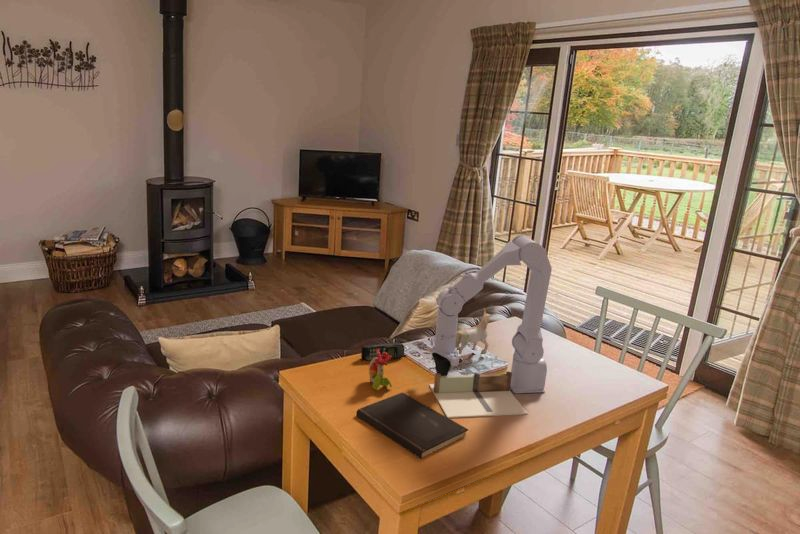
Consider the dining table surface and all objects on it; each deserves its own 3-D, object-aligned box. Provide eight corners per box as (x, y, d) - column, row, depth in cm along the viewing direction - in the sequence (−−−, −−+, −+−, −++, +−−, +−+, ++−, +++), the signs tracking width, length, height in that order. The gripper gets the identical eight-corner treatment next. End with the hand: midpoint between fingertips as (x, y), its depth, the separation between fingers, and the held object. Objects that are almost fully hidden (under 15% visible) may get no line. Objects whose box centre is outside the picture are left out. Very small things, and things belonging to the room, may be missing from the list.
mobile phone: (363, 347, 175) (409, 343, 180) (360, 343, 178) (406, 339, 183) (362, 362, 177) (409, 358, 182) (360, 358, 180) (405, 354, 184)
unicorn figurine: (497, 351, 192) (502, 313, 188) (463, 368, 178) (467, 327, 174) (479, 344, 196) (484, 307, 193) (444, 360, 182) (448, 320, 179)
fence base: (508, 388, 166) (510, 371, 164) (510, 390, 164) (512, 374, 163) (471, 389, 163) (473, 372, 162) (473, 392, 162) (475, 375, 160)
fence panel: (470, 388, 163) (472, 372, 162) (472, 391, 162) (474, 374, 160) (432, 390, 161) (434, 373, 159) (434, 393, 159) (436, 375, 158)
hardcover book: (402, 399, 157) (402, 392, 156) (467, 437, 141) (468, 429, 140) (355, 417, 146) (356, 409, 145) (420, 461, 130) (421, 452, 129)
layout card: (501, 382, 170) (501, 381, 170) (527, 414, 153) (527, 412, 153) (429, 385, 165) (429, 383, 165) (447, 418, 148) (447, 416, 148)
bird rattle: (362, 390, 163) (376, 392, 155) (357, 351, 164) (371, 350, 156) (381, 387, 166) (397, 388, 159) (376, 348, 167) (391, 347, 160)
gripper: (422, 324, 165) (418, 368, 169) (443, 344, 152) (438, 391, 156) (445, 323, 168) (441, 366, 171) (467, 342, 155) (462, 389, 158)
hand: (441, 378), depth 164 cm, fingers closed
